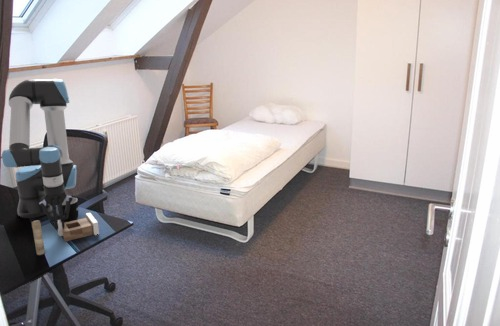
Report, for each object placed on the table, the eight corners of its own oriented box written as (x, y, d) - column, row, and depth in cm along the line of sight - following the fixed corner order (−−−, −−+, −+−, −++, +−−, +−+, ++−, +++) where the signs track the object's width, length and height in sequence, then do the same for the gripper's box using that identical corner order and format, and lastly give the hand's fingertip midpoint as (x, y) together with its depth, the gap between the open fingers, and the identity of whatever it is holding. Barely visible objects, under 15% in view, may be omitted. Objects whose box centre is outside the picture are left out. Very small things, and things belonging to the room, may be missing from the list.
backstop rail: (86, 225, 184) (85, 213, 182) (91, 224, 185) (90, 212, 183) (94, 235, 174) (93, 223, 173) (99, 234, 176) (97, 222, 174)
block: (60, 233, 176) (59, 223, 174) (87, 226, 182) (86, 217, 181) (65, 241, 169) (64, 232, 167) (93, 234, 175) (92, 225, 174)
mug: (80, 222, 186) (78, 203, 183) (59, 226, 182) (56, 206, 179) (79, 212, 196) (77, 193, 193) (59, 215, 192) (56, 196, 189)
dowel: (36, 252, 160) (31, 221, 156) (44, 250, 162) (39, 219, 157) (37, 255, 158) (32, 224, 153) (45, 253, 159) (40, 222, 155)
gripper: (38, 190, 158) (46, 242, 165) (72, 183, 165) (78, 234, 172) (34, 184, 163) (42, 235, 171) (68, 178, 171) (74, 227, 178)
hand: (60, 234), depth 171 cm, fingers closed
